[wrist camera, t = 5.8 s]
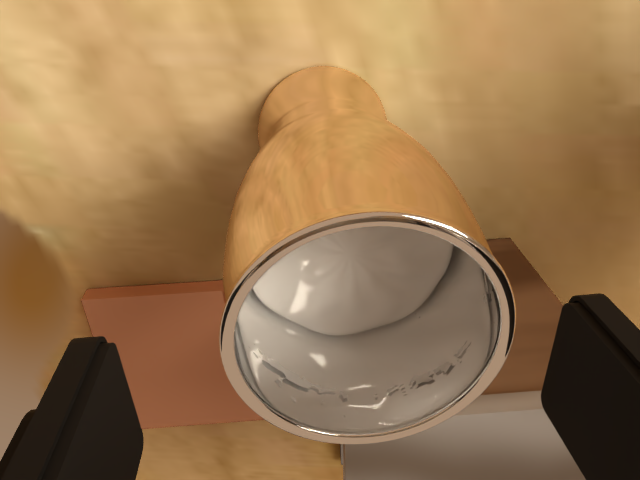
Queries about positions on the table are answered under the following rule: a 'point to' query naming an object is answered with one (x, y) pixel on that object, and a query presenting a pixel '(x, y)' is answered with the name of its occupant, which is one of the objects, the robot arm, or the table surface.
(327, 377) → the beer glass
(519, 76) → the table surface
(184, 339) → the terracotta coaster
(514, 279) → the brown two-tone block
